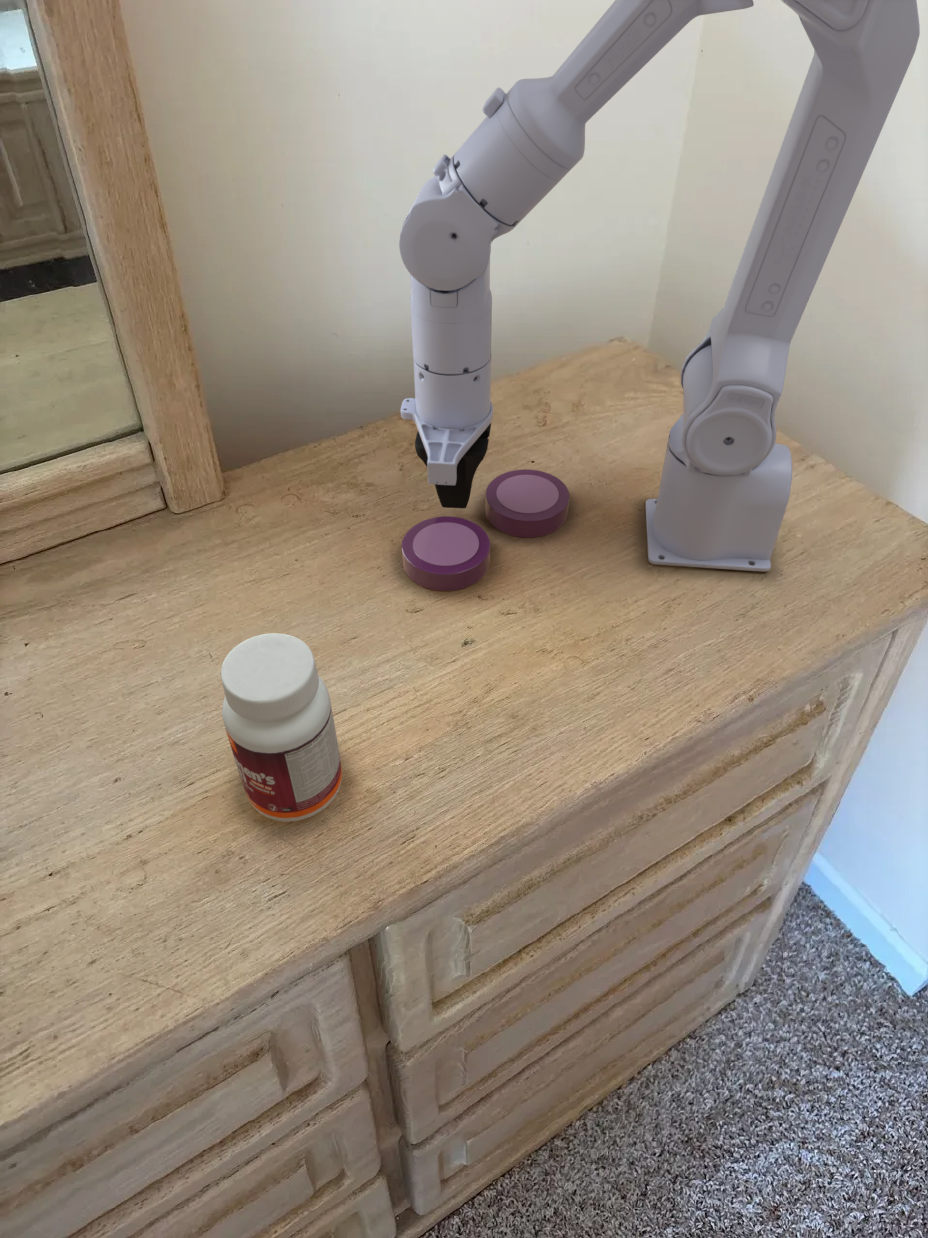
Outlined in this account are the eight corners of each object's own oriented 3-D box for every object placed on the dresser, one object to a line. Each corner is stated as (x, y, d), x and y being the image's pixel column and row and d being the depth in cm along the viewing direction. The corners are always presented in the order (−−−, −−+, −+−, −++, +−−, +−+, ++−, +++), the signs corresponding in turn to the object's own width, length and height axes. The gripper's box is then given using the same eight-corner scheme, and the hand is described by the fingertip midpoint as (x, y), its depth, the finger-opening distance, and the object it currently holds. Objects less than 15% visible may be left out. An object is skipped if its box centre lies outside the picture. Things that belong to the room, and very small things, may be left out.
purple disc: (493, 535, 74) (494, 518, 73) (486, 594, 69) (486, 576, 68) (409, 530, 75) (408, 512, 74) (396, 588, 70) (394, 570, 69)
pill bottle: (226, 788, 57) (185, 671, 49) (298, 729, 60) (271, 609, 52) (292, 844, 54) (260, 729, 46) (364, 778, 58) (346, 660, 50)
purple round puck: (569, 488, 79) (570, 470, 77) (566, 540, 74) (568, 522, 73) (489, 483, 79) (489, 466, 78) (481, 534, 74) (481, 517, 73)
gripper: (412, 306, 71) (420, 449, 81) (380, 406, 61) (393, 556, 71) (502, 310, 71) (498, 454, 80) (484, 412, 61) (482, 563, 70)
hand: (454, 502), depth 76 cm, fingers closed
